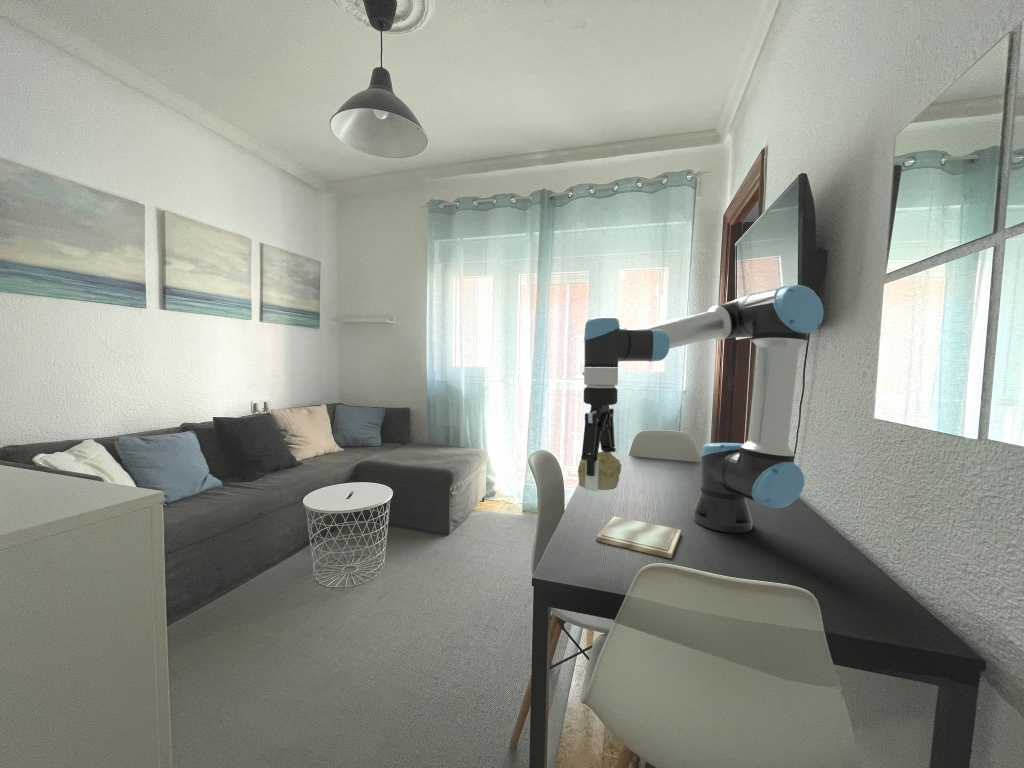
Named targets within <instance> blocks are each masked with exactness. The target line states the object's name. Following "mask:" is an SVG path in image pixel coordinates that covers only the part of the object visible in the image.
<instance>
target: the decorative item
mask: <svg viewBox="0 0 1024 768" xmlns="http://www.w3.org/2000/svg"><path fill="white" fill-rule="evenodd" d="M597 461H599V469H598V491H599V490H600V491H611V490H614V489H617V487H618V486H619V484H618V483H619V482H620V474H621V472H622V464H621V461H620V459H618V458H617V457H616V456H614V455H613V454H612V455H611V454H609V453H607V452H600V451H598V456H597ZM585 466H586V460H582V459H581V458H580V461H579V464H578V468H577V475H578V485H579V486H580V487H582V488H583V489H585Z"/></svg>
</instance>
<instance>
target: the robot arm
mask: <svg viewBox="0 0 1024 768" xmlns="http://www.w3.org/2000/svg"><path fill="white" fill-rule="evenodd" d="M816 293H817V292H815V291H814V290H813V289H811V288H810V287H808V286H805V285H803V284H796V285H789V286H786V285H784V286H781V287H777V288H773V289H770V290H765V291H760V292H756V293H755V292H754V293H750V294H747V295H744V296H742V297H738V298H736V299H733V300H731V301H728V302H724V303H721V304H718V305H714V306H711V307H710V308H709V309H708V311H703V312H699V313H694V314H690V315H687V316H683V317H678V318H674V319H668V320H665V321H659V322H656V323H653V324H652V323H651V324H646V325H641V326H639V327H634V328H631V327H629V328H627V327H626V328H625V327H620V321H619V319H618V318H615V317H610V316H609V317H606V316H605V317H603V316H602V317H601V316H600V317H593V318H589V319H588V320H587V321H586V322H585V325H584V326H585V327H584V338H583V340H584V341H583V342H584V364H583V366H584V370H583V371H582V373H581V374H582V376H583V384H584V386H586V387H584V388H583V403H584V404H585V405H590V411H589V412H585V414H584V429H583V430H584V431H583V441H582V451H581V457H580V460H581V459H582V460H586V466H585V488H584V489H585V490H588V491H592V492H593V491H594V492H598V491H599V490H598V469H599V461H597V456H598V452H607V453H609V454H611V455H613V453H616V444H615V427H614V426H615V425H614V413H615V412H614V408H611V407H610V406H612V405H617V403H618V391H619V390H618V389H617V388H616V386H618V385H619V362H650V363H652V362H660V361H663V360H664V359H666V357H667V355H668V354H669V351H670V349H673V348H678V347H682V346H686V345H690V344H694V343H699V342H704V341H707V340H712V339H715V340H717V341H722V340H725V339H733V338H751V342H752V343H753V344H754V345H755V346H756V347H757V354H756V362H755V371H754V372H755V374H754V382H753V391H752V399H751V410H750V418H749V427H748V435H747V440H746V442H744V443H739V442H708V443H705V444H703V446H702V449H701V455H700V491H699V496H698V498H697V500H696V503H695V505H694V508H693V512H692V519H693V521H694V522H695V523H696V524H698V525H700V526H701V527H704V528H706V529H710V530H714V531H719V532H724V533H732V534H734V533H735V534H742V533H743V534H744V533H748V532H750V531H752V530H753V518H752V515H751V514H752V513H751V510H750V508H749V504H748V502H747V499H749V500H752V501H753V502H755V503H757V504H760V505H764V506H767V507H770V508H772V509H773V508H774V509H781V508H785V507H788V506H789V505H791V504H793V503H794V501H797V499H798V498H799V497H800V496H801V494H802V492H803V490H804V486H805V475H804V473H803V472H802V469H801V468H800V466H798V465H797V464H795V452H794V451H793V450H792V449H791V448H790V446H789V439H790V432H791V422H792V413H793V404H794V395H795V389H796V387H795V386H796V378H797V370H798V369H797V368H798V359H799V351H800V349H801V348H802V347H803V346H805V345H806V344H808V342H809V341H808V338H809V334H810V333H812V332H814V331H815V330H817V329H818V327H819V326H821V324H822V321H823V319H824V306H823V303H822V300H821V298H820V296H818V295H817V294H816ZM599 449H601V451H599Z"/></svg>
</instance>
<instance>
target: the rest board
mask: <svg viewBox="0 0 1024 768" xmlns="http://www.w3.org/2000/svg"><path fill="white" fill-rule="evenodd" d="M681 535H682V529H678V528H674V527H669V526H663V525H658V524H652V523H649V522H645V521H644V522H643V521H638V520H635V519H634V520H633V519H628V518H624V517H620V516H619V517H618V516H613V517H612V518H611V519H610V520H609V521H608V522H607V523H606V525H605V526H604V527H603V528H602V529H601V530H600V531H599V532H598V533H597V535H596V537H595V541H596V542H599V543H603V544H608V545H612V546H617V547H620V548H624V549H629V550H634V551H637V552H643V553H645V554H650V555H654V556H659V557H662V558H667V559H670V558H671V559H672V557H673V556H674V552H675V550H676V548H677V546H678V542H679V540H680V537H681Z"/></svg>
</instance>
